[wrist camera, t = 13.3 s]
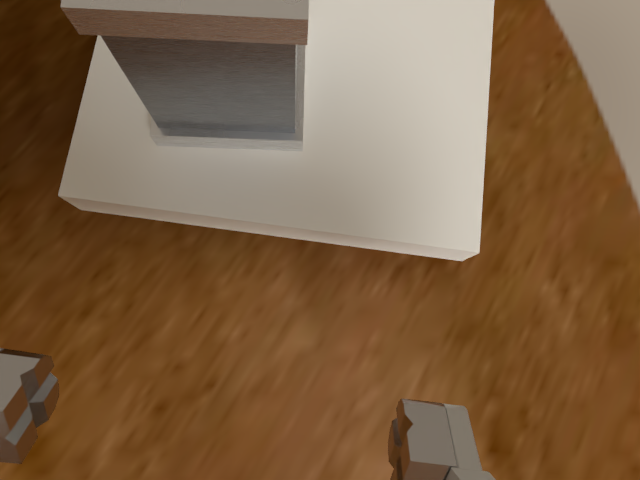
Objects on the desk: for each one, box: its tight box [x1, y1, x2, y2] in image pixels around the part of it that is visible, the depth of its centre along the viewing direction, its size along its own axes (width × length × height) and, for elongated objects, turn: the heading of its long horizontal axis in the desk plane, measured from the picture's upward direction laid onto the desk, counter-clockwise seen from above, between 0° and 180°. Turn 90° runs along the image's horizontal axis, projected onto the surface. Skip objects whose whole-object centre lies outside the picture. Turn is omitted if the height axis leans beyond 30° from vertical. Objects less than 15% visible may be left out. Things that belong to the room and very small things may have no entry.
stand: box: [58, 0, 494, 261], centre depth 22 cm, size 16×12×4 cm
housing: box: [60, 0, 309, 151], centre depth 16 cm, size 6×6×8 cm
